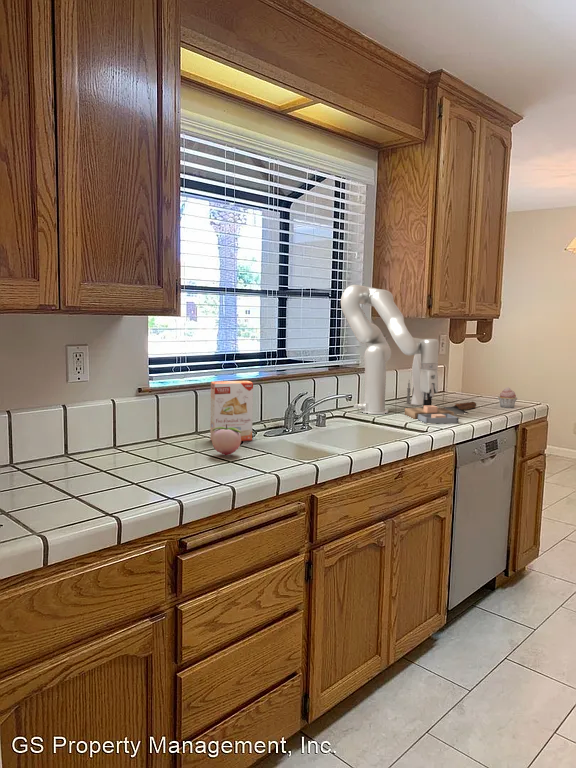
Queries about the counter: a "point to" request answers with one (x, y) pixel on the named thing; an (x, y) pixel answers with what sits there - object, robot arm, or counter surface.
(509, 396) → the cupcake
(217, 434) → the decorative fruit
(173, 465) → the counter surface
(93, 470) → the counter surface
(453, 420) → the tray
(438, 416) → the tile front
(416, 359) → the skyscraper
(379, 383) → the robot arm
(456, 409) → the meat cleaver
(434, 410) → the tile rear
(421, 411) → the board
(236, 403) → the cracker box
